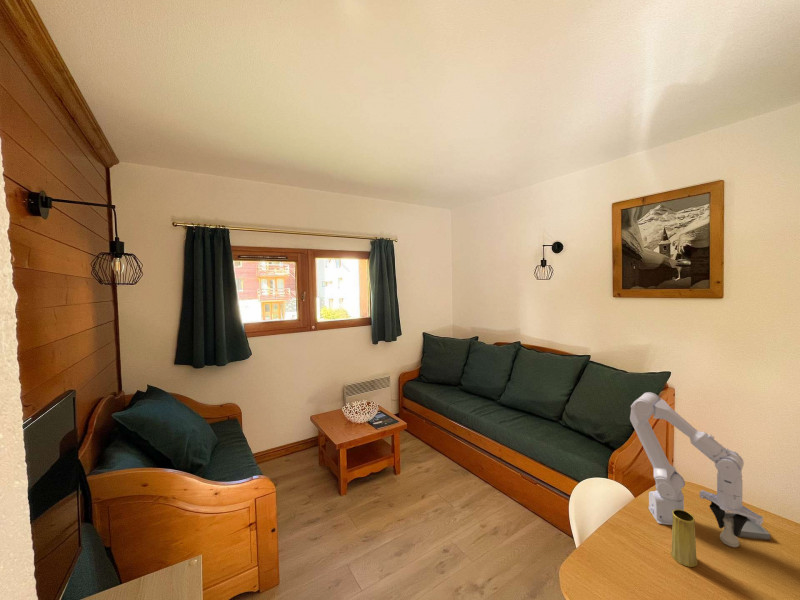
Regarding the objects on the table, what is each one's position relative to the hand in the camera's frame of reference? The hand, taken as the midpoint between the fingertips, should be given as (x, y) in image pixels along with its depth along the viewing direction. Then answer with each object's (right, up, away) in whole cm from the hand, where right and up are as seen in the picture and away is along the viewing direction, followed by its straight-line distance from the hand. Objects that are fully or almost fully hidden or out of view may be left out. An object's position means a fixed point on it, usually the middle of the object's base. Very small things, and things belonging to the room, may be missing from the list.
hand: (729, 530), depth 105 cm
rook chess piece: (0, -4, 0) cm, 4 cm away
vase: (-18, -6, -4) cm, 19 cm away
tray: (+10, -3, +6) cm, 12 cm away
